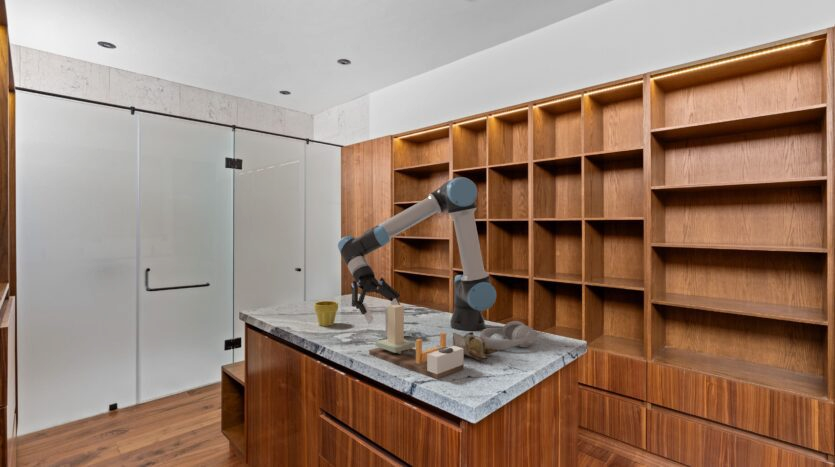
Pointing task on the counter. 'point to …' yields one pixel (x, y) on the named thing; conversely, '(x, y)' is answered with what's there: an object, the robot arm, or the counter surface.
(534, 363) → the counter surface
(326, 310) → the plant pot
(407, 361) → the rail base
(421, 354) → the frame
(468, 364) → the counter surface
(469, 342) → the ceramic sculpture
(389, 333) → the upright wooden block
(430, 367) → the cream rectangular block
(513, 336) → the headphones
